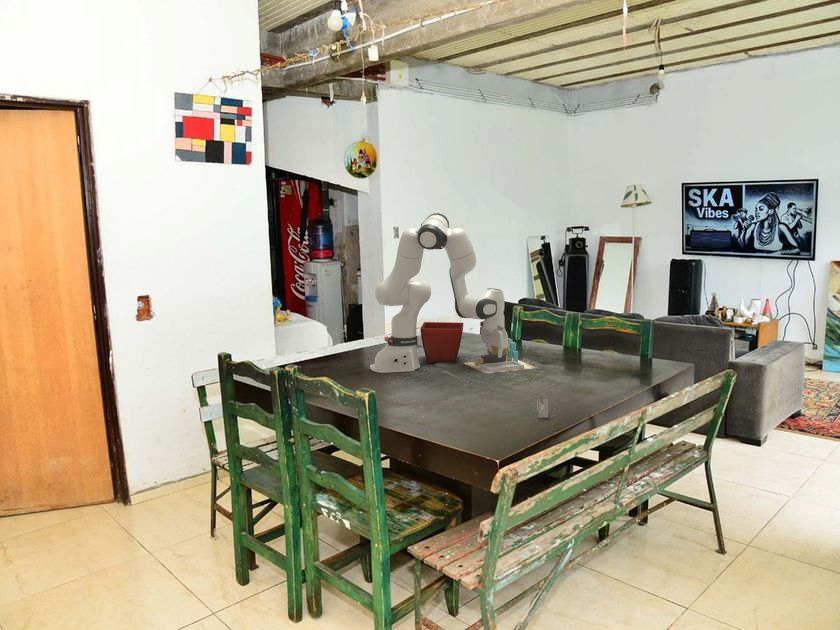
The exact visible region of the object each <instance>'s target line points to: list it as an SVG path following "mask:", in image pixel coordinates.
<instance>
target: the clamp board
mask: <svg viewBox="0 0 840 630" xmlns="http://www.w3.org/2000/svg"><path fill="white" fill-rule="evenodd" d="M508 361H513V357H512V359H510V358H508ZM508 361H506V362H508ZM518 363H520V364H523V365H524V369H516V370H507V371H498V372H487V371H485V370H483V369H481V368H480V364H481V363H479V360H478V361H476V360H475V361H469V362H467V361H466V362H462V365H463V364H464V365H465V366H468V367H470V368H472V369H474V370H476V371H478V372H480V373H483V374H494V373H504V372H512V371H520V370H530V369H531V370H533V369H538V367H537V366H534V364H533V365H532V364H530V363H527V362H524V361H522V360H519V359H518Z"/></svg>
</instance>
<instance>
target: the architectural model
mask: <svg viewBox="0 0 840 630" xmlns="http://www.w3.org/2000/svg"><path fill="white" fill-rule="evenodd" d="M542 401H543V402H540V399H537V400H536V410H538V418H539V419H544V418H549V399H548V398H546V399H545V398H544V399H543V400H542ZM542 403H543V404H542Z"/></svg>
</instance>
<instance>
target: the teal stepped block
mask: <svg viewBox="0 0 840 630" xmlns="http://www.w3.org/2000/svg"><path fill="white" fill-rule="evenodd" d="M506 356H508V358H510V359H512V358H513V361H515V362H518V360H519V351H518V350H517V343H516V342H515V341H509V348H508V350H507V353H506Z"/></svg>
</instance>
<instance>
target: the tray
mask: <svg viewBox="0 0 840 630" xmlns="http://www.w3.org/2000/svg"><path fill="white" fill-rule="evenodd" d="M480 368H481V369H483V370H485V371H487V372H496V373H499V372H498V371H505V372H508V371H507V370H514V371H517V370H516V369H523V370H525V369H524V365H523V364H520V363H518V362H515V361H508V362H498V363H489V364H480Z"/></svg>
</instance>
